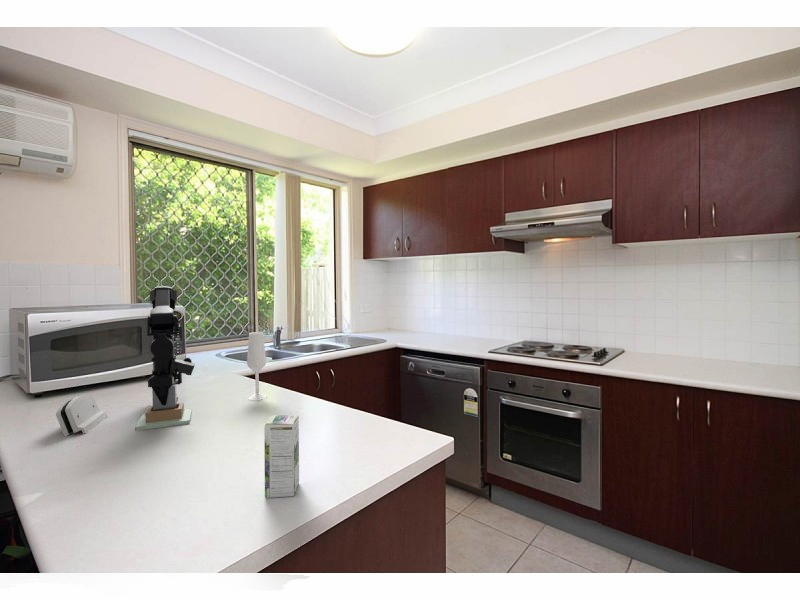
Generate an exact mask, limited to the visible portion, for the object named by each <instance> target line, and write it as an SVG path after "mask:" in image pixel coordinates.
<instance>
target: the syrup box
mask: <svg viewBox="0 0 800 600" xmlns="http://www.w3.org/2000/svg"><path fill="white" fill-rule="evenodd" d="M299 417H300V416H299V415H295V414H277V415H276V414H275V415H271V416H270V417H269V419H268V421H266V424H264V434H263V435H264V498H265V499H272V498H284V497H285V498H286V497H295V495H296V492H297V490H298V486H299V483H300V451H299V450H300V432H299V431H300V428H299V427H300V425H299V422H300V420H299Z"/></svg>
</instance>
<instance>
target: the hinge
mask: <svg viewBox="0 0 800 600" xmlns="http://www.w3.org/2000/svg"><path fill="white" fill-rule="evenodd" d="M55 416H56V419H57V421H58V423H59V426H60V429H61V431H62V433H63V434H62V435H64V437H66V436H65V435H68V436H69V435H71V434H72V433H73V434H75V433H78V432H80V431H81V433H82V434H83V435H85V434H84V433H86V434H88V433H89V432H90V431H92V430H93V429H94V428H95V427H96V426H98V425H99V424H100V423H102V422H103V421H104V420H105V419H107V418H108V415H107V412H106V411H103V410H101V409H100V408H99V406H98V403H97V402H96V400H95V399H94V397H93V396H92V395H91V394H83V395H78V396H76V397H74V398H70V399H68V400H66V401H65V402H63V403H62V404H61V405H60V407H59V408H58V409H57V410H56V413H55ZM106 417H107V418H106ZM104 418H105V419H104ZM103 419H104V420H103ZM102 420H103V421H102ZM101 421H102V422H101ZM99 422H100V423H99ZM98 423H99V424H98ZM97 424H98V425H97ZM94 426H95V427H94ZM93 427H94V428H93ZM92 428H93V429H92ZM89 430H90V431H89ZM88 431H89V432H88Z"/></svg>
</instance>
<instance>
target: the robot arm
mask: <svg viewBox="0 0 800 600" xmlns="http://www.w3.org/2000/svg"><path fill="white" fill-rule="evenodd" d="M149 304H150V305H152V309H150V311H149V315H148V316H147V331H146V333H147V335H146V336H147V337H152V338H151V345H150V348H149V349H150V352H151V355H152V357H151V362H152V372H151V377H149V379H148V380H147V388H151V389H153V391H154V392H155V394H156V396H157V397H158V399H159V401H160V403H161V404H162V405H166V403H167V398H168V392H169V388H170V387H171V386H172V385H173V384H174V383H176V385H180V384H182V383H183V379H182V378H183V374H185V375H186V376H192V374H193V371H194V368H195V365H196V363H195V362H192V358H191V357H185V358H184V359H177V355H175V346H174V345H175V343H174V341H175V339H174V336H175V335H177V334H178V333H179V332H180V326H179V325H180V324H179V322H180V321H179V318H178V315H176V314H174V311H175V310H176V304H178V291H177V290H175V289H172V287H171V286H155V287H154V289H152V290H150V291H149ZM173 335H174V336H173ZM178 399H179V397H178V396H177V401H178Z"/></svg>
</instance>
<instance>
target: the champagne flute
mask: <svg viewBox="0 0 800 600" xmlns="http://www.w3.org/2000/svg"><path fill="white" fill-rule="evenodd" d="M265 348H266V347H265V340H264V332H262V331H253V332H249V333H248V343H247V356H246V358H247V359H246V365H247V367H248V368H249V369H250V370H252V372H254V373H255V374H254V376H255V393H254V394H252V395H250V397H248V398H247V400H248V399H249V400H248V401H252V400H256V401H262V400H261V399H263V400H265V399H264V398H266V396H267V395H265V394H262V393H261V392H260V381H259V380H260V378H259V375H260V374H259V372H260V371H262V369H264V367H265V366H266V364H267V357H266V349H265ZM266 399H267V398H266Z"/></svg>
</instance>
